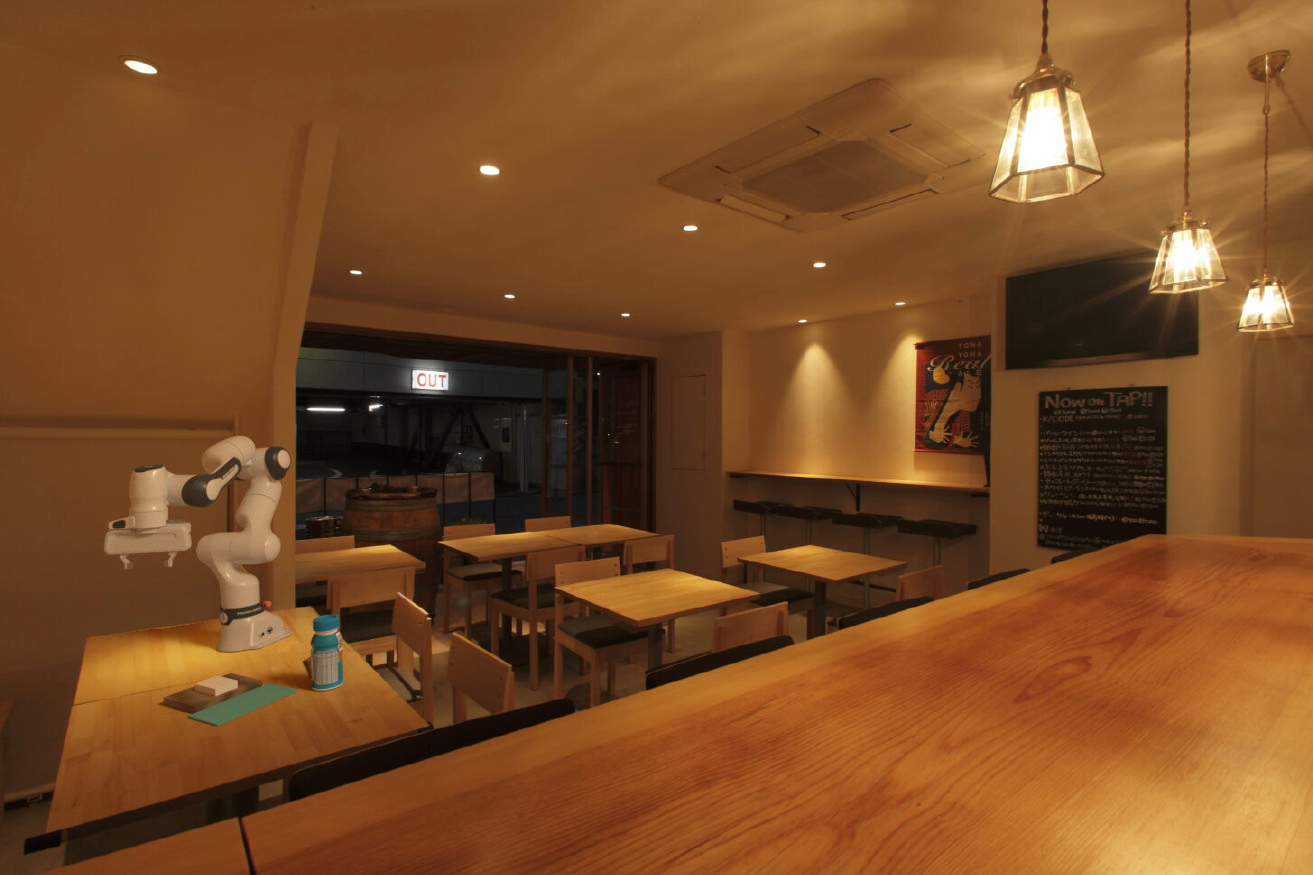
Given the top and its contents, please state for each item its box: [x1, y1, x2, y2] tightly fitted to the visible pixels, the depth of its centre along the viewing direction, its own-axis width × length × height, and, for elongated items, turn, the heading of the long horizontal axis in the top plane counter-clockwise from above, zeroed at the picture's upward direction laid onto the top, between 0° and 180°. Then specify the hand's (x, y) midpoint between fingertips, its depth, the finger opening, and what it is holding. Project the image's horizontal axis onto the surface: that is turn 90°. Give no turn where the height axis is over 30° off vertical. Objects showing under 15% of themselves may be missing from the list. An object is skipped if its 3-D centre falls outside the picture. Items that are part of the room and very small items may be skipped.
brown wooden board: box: [163, 672, 263, 714], centre depth 177 cm, size 18×14×2 cm
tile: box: [194, 675, 238, 696], centre depth 176 cm, size 6×9×2 cm, turn 66°
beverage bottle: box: [309, 614, 344, 692], centre depth 182 cm, size 8×8×20 cm
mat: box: [187, 682, 298, 727], centre depth 172 cm, size 22×12×1 cm, turn 156°
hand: (148, 567), depth 184 cm, fingers open, 8 cm apart
